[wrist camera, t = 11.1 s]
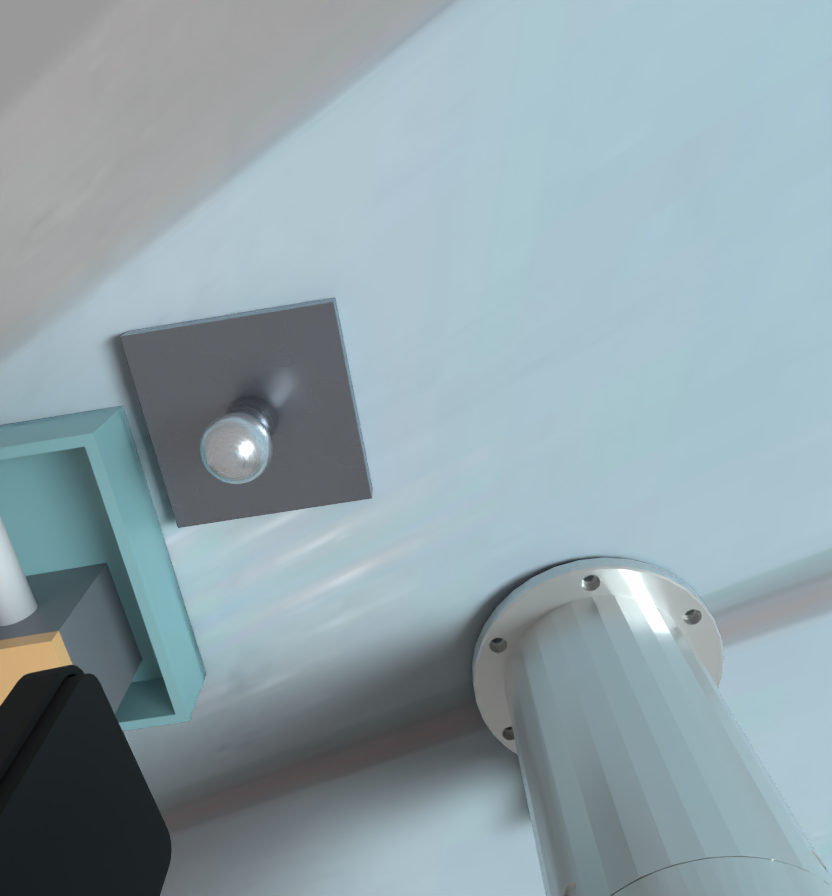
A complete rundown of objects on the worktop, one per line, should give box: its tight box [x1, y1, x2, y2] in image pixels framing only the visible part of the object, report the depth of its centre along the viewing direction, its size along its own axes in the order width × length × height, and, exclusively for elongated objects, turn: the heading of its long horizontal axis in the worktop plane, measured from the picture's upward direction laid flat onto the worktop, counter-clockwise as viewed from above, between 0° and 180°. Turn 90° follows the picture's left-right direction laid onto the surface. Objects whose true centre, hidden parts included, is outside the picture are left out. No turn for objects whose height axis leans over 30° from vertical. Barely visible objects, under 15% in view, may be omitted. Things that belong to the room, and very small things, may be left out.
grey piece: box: [120, 298, 372, 528], centre depth 31 cm, size 9×9×6 cm
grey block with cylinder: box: [0, 516, 142, 714], centre depth 33 cm, size 12×6×6 cm, turn 10°
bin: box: [0, 406, 206, 731], centre depth 35 cm, size 15×11×4 cm
